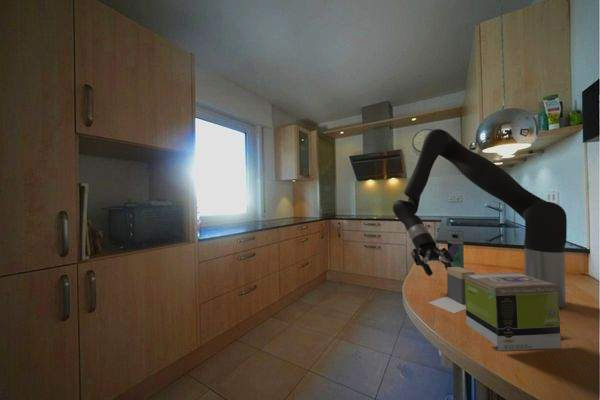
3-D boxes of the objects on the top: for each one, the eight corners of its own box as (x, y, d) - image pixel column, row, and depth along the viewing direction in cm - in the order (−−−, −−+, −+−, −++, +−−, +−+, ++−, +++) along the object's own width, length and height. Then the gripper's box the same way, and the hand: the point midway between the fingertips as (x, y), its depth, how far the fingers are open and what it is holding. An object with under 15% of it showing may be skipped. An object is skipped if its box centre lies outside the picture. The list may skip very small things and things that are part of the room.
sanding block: (459, 296, 79) (459, 266, 79) (474, 303, 73) (474, 272, 73) (447, 296, 79) (447, 267, 79) (461, 304, 73) (461, 272, 73)
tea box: (519, 326, 62) (518, 271, 62) (562, 350, 52) (561, 284, 52) (464, 328, 62) (463, 272, 62) (497, 352, 52) (496, 286, 52)
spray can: (454, 280, 98) (453, 232, 99) (467, 284, 93) (466, 234, 93) (444, 281, 97) (444, 233, 97) (457, 286, 92) (456, 235, 92)
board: (453, 297, 81) (453, 294, 81) (480, 306, 74) (480, 303, 74) (428, 306, 74) (428, 302, 74) (454, 317, 67) (454, 313, 67)
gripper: (408, 232, 92) (428, 270, 81) (441, 231, 94) (465, 268, 82) (401, 243, 97) (418, 280, 86) (432, 242, 99) (453, 278, 88)
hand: (441, 274), depth 84 cm, fingers open, 8 cm apart
